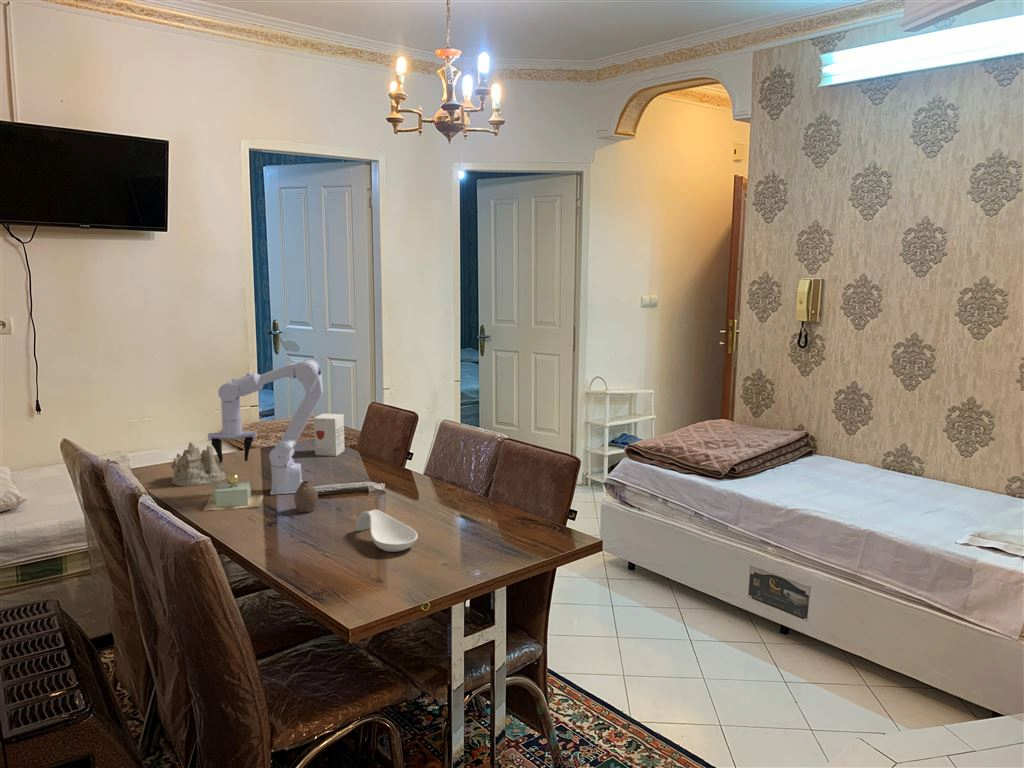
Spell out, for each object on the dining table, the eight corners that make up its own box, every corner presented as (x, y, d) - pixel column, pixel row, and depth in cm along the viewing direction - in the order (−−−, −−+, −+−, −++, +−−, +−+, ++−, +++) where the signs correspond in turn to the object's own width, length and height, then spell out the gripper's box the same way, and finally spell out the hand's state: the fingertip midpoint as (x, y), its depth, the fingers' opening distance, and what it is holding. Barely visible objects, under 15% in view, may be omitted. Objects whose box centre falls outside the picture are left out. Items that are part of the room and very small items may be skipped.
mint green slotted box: (251, 496, 235) (250, 481, 234) (247, 505, 226) (247, 489, 225) (216, 498, 233) (215, 483, 232) (211, 507, 224) (210, 491, 223)
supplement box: (314, 455, 288) (312, 417, 286) (323, 449, 297) (322, 413, 294) (336, 456, 287) (335, 418, 284) (345, 450, 295) (344, 413, 293)
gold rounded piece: (246, 497, 233) (245, 471, 232) (244, 503, 227) (242, 477, 226) (224, 498, 232) (222, 472, 231) (221, 505, 226) (219, 478, 224)
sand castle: (229, 480, 254) (224, 437, 252) (178, 491, 244) (172, 446, 242) (217, 473, 266) (212, 432, 264) (168, 483, 257) (162, 440, 255)
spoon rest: (426, 549, 192) (426, 523, 191) (386, 561, 185) (386, 533, 184) (380, 525, 210) (379, 501, 209) (342, 535, 203) (341, 509, 202)
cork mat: (263, 495, 237) (263, 494, 237) (259, 507, 226) (259, 506, 226) (210, 499, 234) (210, 498, 234) (203, 511, 222) (203, 509, 222)
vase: (311, 514, 219) (310, 485, 218) (290, 513, 220) (288, 484, 219) (322, 507, 226) (321, 479, 224) (301, 506, 227) (300, 478, 226)
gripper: (205, 422, 232) (207, 465, 234) (254, 421, 235) (256, 462, 237) (208, 418, 239) (211, 459, 241) (256, 416, 242) (258, 457, 244)
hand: (233, 460), depth 239 cm, fingers open, 7 cm apart
